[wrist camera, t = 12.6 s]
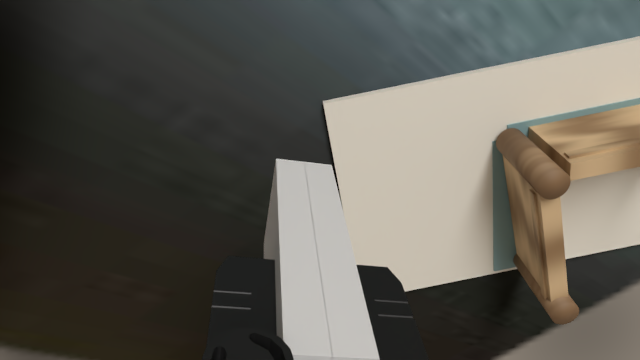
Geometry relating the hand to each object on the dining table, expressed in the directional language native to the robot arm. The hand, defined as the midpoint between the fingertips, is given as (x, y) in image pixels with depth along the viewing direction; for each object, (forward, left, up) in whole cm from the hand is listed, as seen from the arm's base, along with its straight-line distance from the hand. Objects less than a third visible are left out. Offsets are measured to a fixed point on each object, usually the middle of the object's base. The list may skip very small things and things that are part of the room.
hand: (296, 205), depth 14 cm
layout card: (+16, -17, -24) cm, 34 cm away
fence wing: (+17, -19, -23) cm, 34 cm away
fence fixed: (+24, -13, -24) cm, 36 cm away
